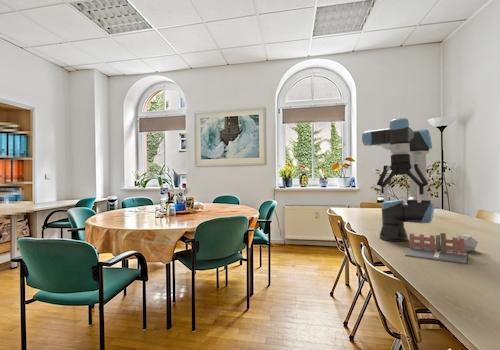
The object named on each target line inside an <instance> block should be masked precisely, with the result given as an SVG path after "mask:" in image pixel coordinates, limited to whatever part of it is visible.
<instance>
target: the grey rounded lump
mask: <svg viewBox="0 0 500 350" xmlns="http://www.w3.org/2000/svg"><path fill="white" fill-rule="evenodd" d="M456 238H457V240H459V238H464V248H465V252H467V253H468V252H471V251H472V252H475V251H476V248H477V246H478V245H479V241H477V240H476V239H475V238H473V236H472V235H469V234H458V236H457V237H456ZM457 246H458V247H460V246H459V244H457ZM472 252H471V253H472Z"/></svg>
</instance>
